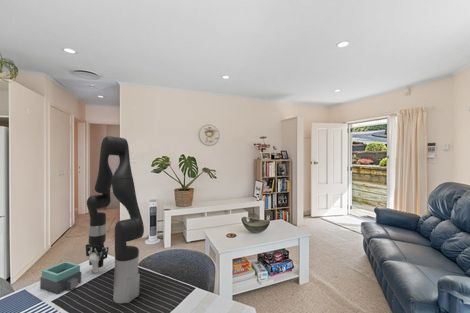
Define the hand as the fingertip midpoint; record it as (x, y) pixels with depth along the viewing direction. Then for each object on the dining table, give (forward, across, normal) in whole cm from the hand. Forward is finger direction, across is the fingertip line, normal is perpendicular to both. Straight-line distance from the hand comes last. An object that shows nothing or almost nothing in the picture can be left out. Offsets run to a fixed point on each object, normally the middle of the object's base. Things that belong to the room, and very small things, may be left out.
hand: (96, 265), depth 111 cm
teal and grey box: (+4, +2, +14) cm, 15 cm away
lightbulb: (+4, 0, 0) cm, 4 cm away
